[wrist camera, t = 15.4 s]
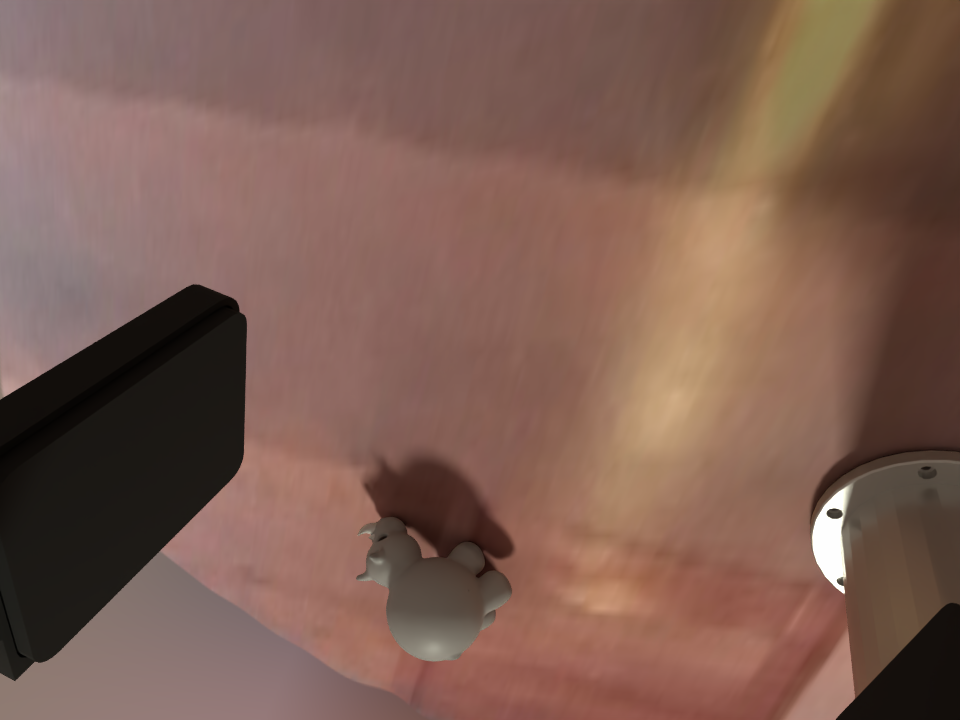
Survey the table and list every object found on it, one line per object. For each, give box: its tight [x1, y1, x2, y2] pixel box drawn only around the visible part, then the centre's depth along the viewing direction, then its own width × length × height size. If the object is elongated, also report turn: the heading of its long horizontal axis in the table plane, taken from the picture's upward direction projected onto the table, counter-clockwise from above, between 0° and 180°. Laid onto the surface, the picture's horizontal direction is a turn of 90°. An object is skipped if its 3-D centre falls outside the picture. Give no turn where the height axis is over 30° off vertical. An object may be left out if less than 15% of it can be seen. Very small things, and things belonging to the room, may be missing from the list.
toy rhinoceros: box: [356, 517, 512, 661], centre depth 54 cm, size 7×12×8 cm, turn 66°
